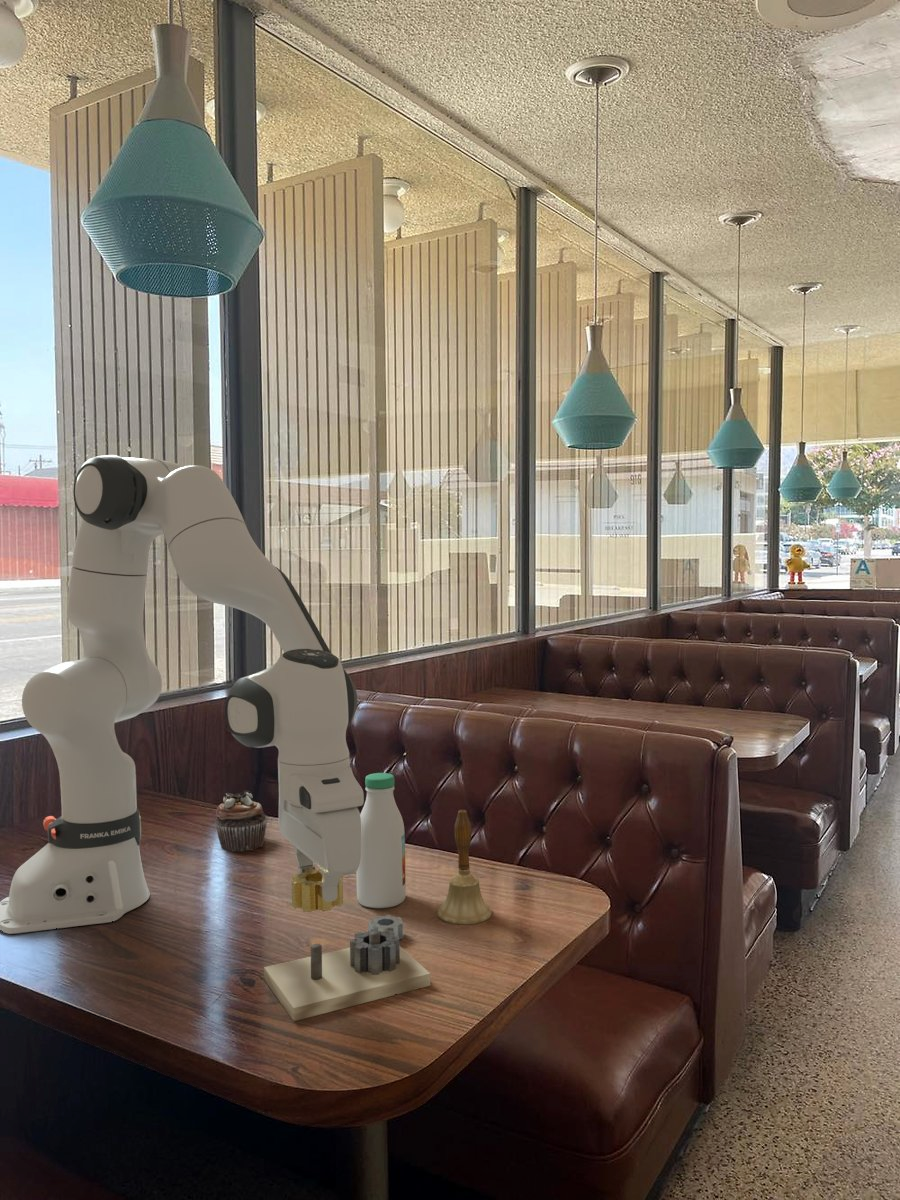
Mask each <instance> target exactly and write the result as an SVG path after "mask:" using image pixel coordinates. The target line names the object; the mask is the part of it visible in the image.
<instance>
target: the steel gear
mask: <svg viewBox="0 0 900 1200" xmlns="http://www.w3.org/2000/svg"><path fill="white" fill-rule="evenodd" d="M372 931H378V929H371V931H368V930H367V931H364V932H362V931H359V932H356V933H354V938H350V939H349V948H350V966H355V971H356V972H358V973H362V972H368V973H371V975H379V972H382V971H390V972H391V971H393V970H395V969H396V964H400V947H401V945H400V939H399V936H398V937H395V935H394V932H392V931H390V930H388V931H386V932H385V931H382V932H381V931H378V932H380V944H369V933H370V932H372Z"/></svg>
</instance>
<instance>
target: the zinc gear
mask: <svg viewBox="0 0 900 1200" xmlns="http://www.w3.org/2000/svg"><path fill="white" fill-rule="evenodd" d="M392 915H393V914H386V915H385V916H379V915H378V916H374V917H373V919H372V920H371V919H370V920H368V922H367V932H368V931H371V929H378V931H381V932H382V931H385V932H386V931H388V930H390V931H392V932H394V935H395V937H398V936H399V940H403V939H404V935H405V934H404V932H405V931H404V930H405V929H404V928H405V927H404V926H405V925H404V923H405V922H404V921H402V920H403V919H402V918H401V917H400V916H397V917H396V916H392Z"/></svg>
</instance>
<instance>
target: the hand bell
mask: <svg viewBox="0 0 900 1200" xmlns="http://www.w3.org/2000/svg"><path fill="white" fill-rule="evenodd" d="M454 841H455V843H456V844H455V845H456V847H457V851H458V852H457V853H458V863H457V864H458V866H457V867H458V873H457V874H455V875H453V876H451V878H450V879H449V885H448V891H447V892H448V893H447V895H446V899H445V901H444V902H443V903H442V904H441V905H440V906H439V907H438V910H437V913H436V914H437V916H438V918H439V919H441V920H442V921H444V922H446V923H449V924H454V925H474V924H479V923H483V922H484V921H485V922H486V920H488V919H490V917H492V913H493V911H492V909H491V907H490V906H489V905H488V904H487V903H486V902H485V900H484V898H483V895H482V892H481V888H480V879H479V878H478V877H477V876H476V875H474V874H472V873H471V869H470V856H469V855H470V854H469V851H470V850H469V849H470V846H471V843H472V825H471V821H470V818H469V816H468V812H467V810H466V809H459V810H458V811H457V816H456V819H455V823H454Z"/></svg>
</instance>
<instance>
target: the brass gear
mask: <svg viewBox="0 0 900 1200" xmlns="http://www.w3.org/2000/svg"><path fill="white" fill-rule="evenodd" d="M291 877H292V878H291V879H292V880H290V881H291V907H292V908H294V910H295V909H301V910H302V912H304V913H312V912H313V911H315V912H316V911H318V912H319V911H322V912H323V913H324V912H328V911H331V909H332V908H334V907H336V906H337V907H340V906H342V904H344V879H343V878H344V877H343V876H341V877H340V880H339V883H338V886H337V896H338V897H337V899H336V900H335V901H330V902H325V901H324V900H323V899H322V898H321V897H320V890H319V885H321V884H322V877H323V875H322V874H321V868H320V869H315V870H313V869H308V870H305V872H304V873H301V874H298V873H295V874H293V875H292V876H291Z"/></svg>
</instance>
